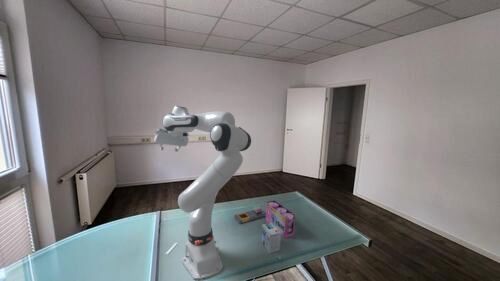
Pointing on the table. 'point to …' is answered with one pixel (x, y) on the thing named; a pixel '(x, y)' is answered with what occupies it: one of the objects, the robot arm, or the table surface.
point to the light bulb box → (271, 237)
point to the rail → (248, 216)
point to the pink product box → (280, 218)
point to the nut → (257, 210)
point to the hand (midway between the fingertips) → (168, 150)
